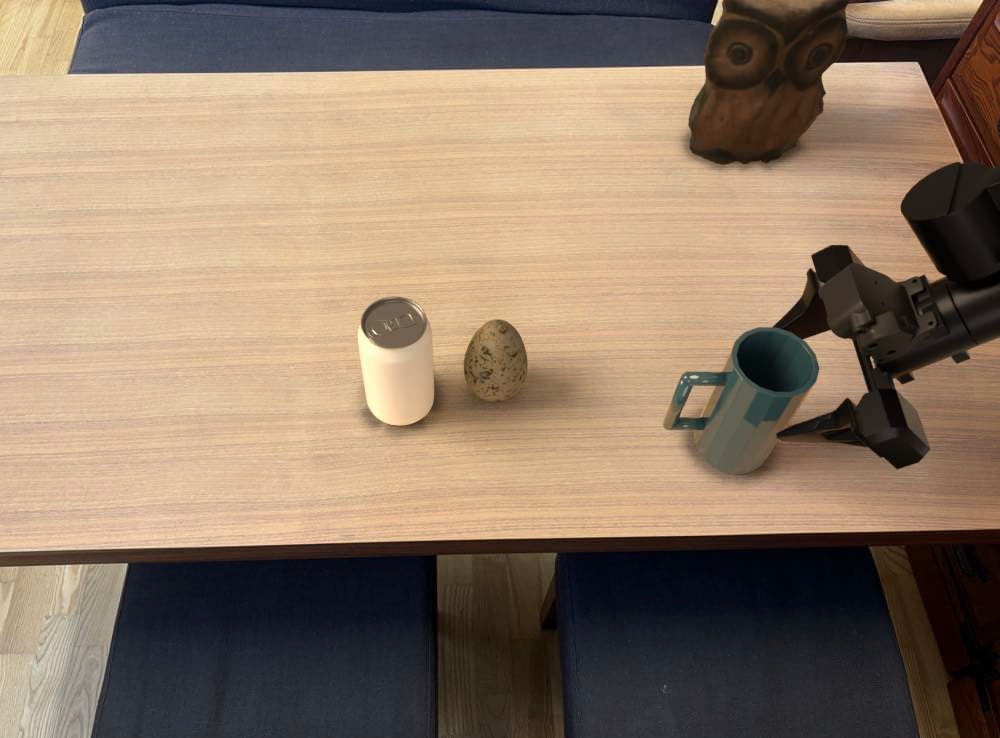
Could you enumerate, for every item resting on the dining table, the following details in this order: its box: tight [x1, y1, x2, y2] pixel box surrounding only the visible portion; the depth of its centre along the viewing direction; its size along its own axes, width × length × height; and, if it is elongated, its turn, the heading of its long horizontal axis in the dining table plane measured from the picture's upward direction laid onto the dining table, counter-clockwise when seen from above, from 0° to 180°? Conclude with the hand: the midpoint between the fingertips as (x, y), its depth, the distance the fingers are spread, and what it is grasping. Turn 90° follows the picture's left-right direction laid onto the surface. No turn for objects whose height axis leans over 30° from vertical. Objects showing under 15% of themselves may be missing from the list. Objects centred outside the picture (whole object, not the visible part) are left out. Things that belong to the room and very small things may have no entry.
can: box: [357, 295, 435, 426], centre depth 77 cm, size 6×6×12 cm
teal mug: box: [662, 326, 820, 475], centre depth 74 cm, size 10×7×13 cm, turn 90°
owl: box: [687, 0, 852, 166], centre depth 94 cm, size 13×13×20 cm
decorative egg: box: [463, 318, 529, 403], centre depth 78 cm, size 6×6×10 cm
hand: (767, 391), depth 72 cm, fingers open, 9 cm apart
